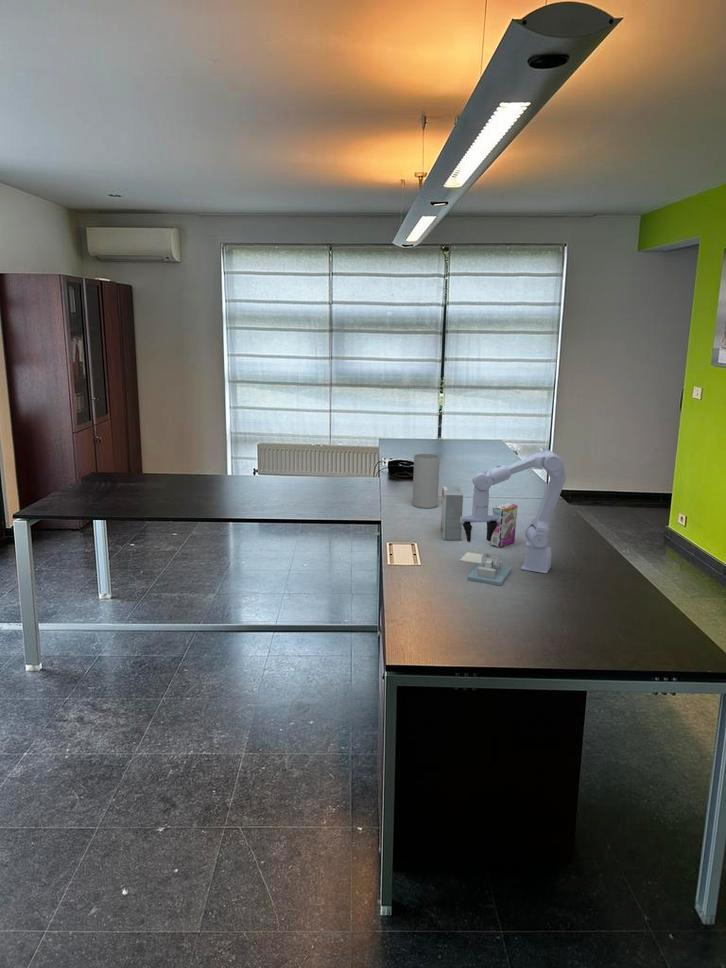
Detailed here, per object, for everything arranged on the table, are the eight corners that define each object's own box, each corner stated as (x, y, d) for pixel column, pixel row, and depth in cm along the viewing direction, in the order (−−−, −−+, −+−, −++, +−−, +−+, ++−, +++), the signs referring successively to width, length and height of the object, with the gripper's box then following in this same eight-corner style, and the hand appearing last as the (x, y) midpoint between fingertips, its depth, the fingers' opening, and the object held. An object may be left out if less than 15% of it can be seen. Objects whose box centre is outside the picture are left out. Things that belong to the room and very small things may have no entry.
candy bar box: (500, 548, 273) (502, 509, 270) (489, 545, 277) (492, 507, 273) (515, 542, 281) (518, 504, 277) (505, 539, 284) (507, 502, 281)
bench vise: (511, 571, 248) (512, 555, 247) (500, 585, 234) (502, 568, 233) (479, 565, 253) (479, 550, 252) (467, 580, 239) (468, 563, 237)
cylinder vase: (431, 501, 344) (433, 453, 339) (441, 507, 333) (443, 458, 327) (408, 503, 340) (410, 454, 335) (418, 509, 329) (420, 459, 323)
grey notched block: (499, 565, 243) (499, 555, 243) (496, 568, 240) (497, 558, 239) (483, 562, 246) (484, 553, 245) (481, 566, 242) (481, 556, 241)
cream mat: (492, 557, 263) (492, 556, 263) (485, 565, 254) (485, 564, 254) (467, 553, 267) (467, 552, 267) (459, 560, 258) (459, 559, 258)
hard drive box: (440, 529, 298) (442, 485, 293) (457, 529, 297) (459, 485, 293) (443, 540, 282) (445, 494, 278) (461, 540, 282) (463, 494, 278)
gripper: (495, 502, 251) (493, 536, 255) (458, 503, 249) (456, 538, 252) (502, 507, 245) (500, 542, 248) (464, 508, 242) (462, 544, 245)
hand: (478, 541), depth 250 cm, fingers open, 7 cm apart
